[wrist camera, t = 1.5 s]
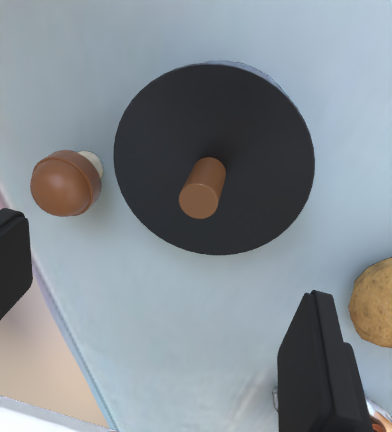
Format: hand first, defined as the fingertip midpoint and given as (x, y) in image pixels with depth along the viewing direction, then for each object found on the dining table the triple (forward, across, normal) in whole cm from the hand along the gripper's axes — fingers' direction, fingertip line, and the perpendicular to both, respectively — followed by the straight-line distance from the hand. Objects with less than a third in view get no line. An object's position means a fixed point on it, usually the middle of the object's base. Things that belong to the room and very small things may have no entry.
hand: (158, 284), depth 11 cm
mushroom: (+23, +14, +8) cm, 28 cm away
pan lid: (+17, 0, +3) cm, 17 cm away
